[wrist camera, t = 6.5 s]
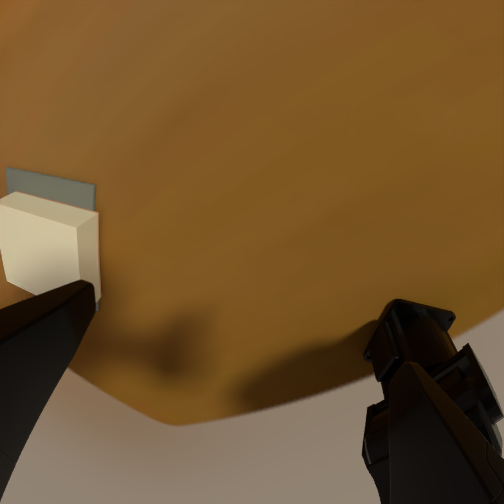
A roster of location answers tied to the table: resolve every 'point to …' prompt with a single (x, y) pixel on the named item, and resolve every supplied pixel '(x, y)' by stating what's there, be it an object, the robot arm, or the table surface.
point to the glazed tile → (48, 243)
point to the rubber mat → (52, 189)
